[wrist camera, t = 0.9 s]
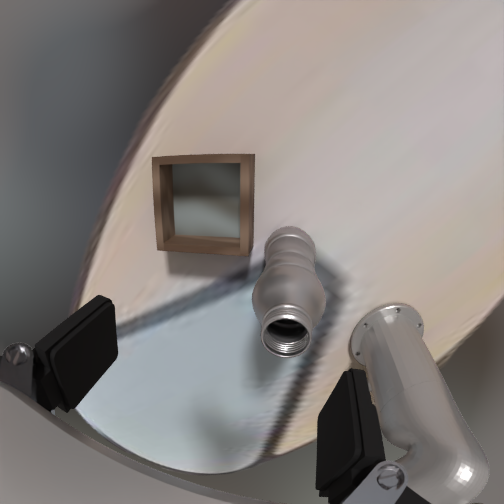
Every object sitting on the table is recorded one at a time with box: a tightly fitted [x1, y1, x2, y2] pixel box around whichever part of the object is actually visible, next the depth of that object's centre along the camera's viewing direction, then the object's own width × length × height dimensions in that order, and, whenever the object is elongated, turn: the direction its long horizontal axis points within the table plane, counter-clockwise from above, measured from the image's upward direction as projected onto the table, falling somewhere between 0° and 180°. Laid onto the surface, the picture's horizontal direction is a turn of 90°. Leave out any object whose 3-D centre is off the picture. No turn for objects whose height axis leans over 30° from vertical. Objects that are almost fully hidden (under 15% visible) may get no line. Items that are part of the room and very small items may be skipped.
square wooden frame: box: [152, 154, 255, 256], centre depth 35 cm, size 12×12×4 cm
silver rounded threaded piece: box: [252, 226, 326, 358], centre depth 28 cm, size 6×7×20 cm
